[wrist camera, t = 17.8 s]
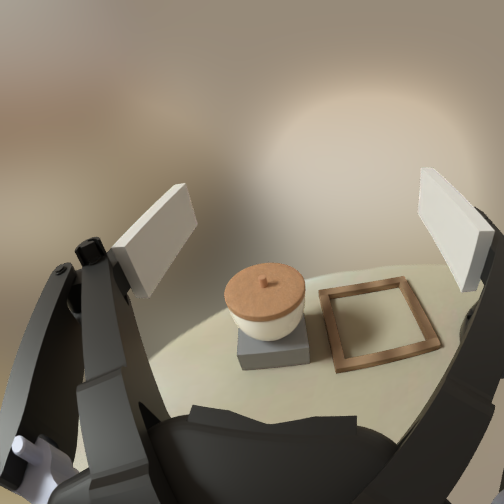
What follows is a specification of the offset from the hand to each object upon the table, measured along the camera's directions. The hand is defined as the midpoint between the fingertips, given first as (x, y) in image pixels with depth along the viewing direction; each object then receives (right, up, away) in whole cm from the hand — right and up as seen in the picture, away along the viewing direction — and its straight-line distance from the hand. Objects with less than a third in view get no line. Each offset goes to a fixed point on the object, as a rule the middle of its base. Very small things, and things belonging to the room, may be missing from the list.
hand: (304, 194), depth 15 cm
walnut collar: (+18, -14, +28) cm, 36 cm away
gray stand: (+1, -17, +29) cm, 34 cm away
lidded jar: (0, -14, +27) cm, 30 cm away
